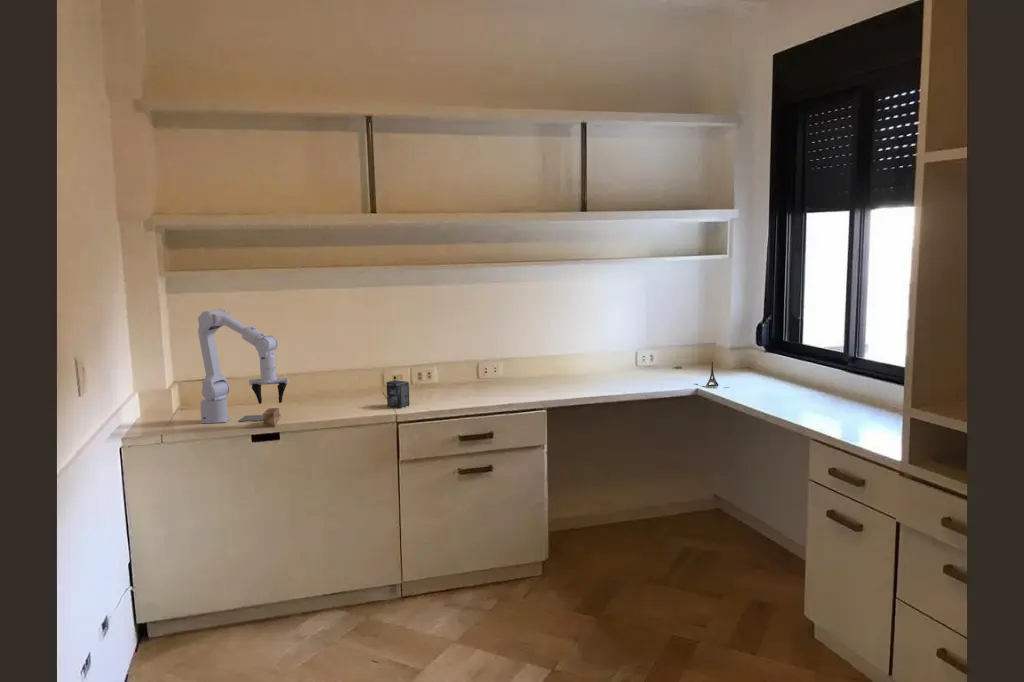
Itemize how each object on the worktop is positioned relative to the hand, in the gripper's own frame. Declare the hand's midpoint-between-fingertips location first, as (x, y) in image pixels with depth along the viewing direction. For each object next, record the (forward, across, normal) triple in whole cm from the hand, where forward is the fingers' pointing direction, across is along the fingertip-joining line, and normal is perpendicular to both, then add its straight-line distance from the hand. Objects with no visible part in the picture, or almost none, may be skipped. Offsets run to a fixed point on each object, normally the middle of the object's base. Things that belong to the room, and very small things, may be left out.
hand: (270, 402), depth 293 cm
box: (+9, +47, +24) cm, 53 cm away
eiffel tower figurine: (+9, +188, +41) cm, 193 cm away
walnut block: (+9, 0, 0) cm, 9 cm away
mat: (+8, -7, +10) cm, 15 cm away
